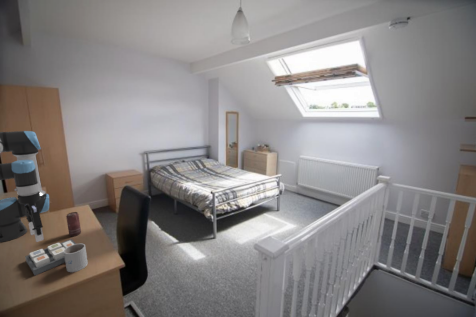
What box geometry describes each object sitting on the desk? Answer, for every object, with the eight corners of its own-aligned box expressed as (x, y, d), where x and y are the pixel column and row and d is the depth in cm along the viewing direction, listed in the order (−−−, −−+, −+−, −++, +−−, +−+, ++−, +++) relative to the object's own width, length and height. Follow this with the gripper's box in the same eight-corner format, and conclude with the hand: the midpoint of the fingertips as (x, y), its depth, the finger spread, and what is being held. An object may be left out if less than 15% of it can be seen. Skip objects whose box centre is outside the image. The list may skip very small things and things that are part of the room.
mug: (89, 265, 110) (87, 248, 108) (69, 274, 104) (65, 256, 102) (83, 255, 118) (80, 238, 116) (63, 263, 112) (60, 245, 110)
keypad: (26, 261, 113) (24, 255, 112) (72, 243, 129) (71, 238, 128) (34, 275, 103) (33, 269, 102) (83, 254, 119) (82, 249, 118)
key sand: (52, 256, 114) (51, 251, 113) (64, 251, 118) (63, 246, 117) (55, 260, 111) (54, 254, 110) (67, 255, 115) (66, 250, 114)
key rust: (34, 263, 108) (33, 258, 108) (47, 258, 112) (46, 253, 112) (36, 267, 105) (35, 262, 105) (49, 262, 109) (49, 257, 109)
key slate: (30, 258, 112) (29, 252, 112) (43, 253, 116) (42, 248, 116) (32, 261, 109) (31, 256, 109) (45, 256, 113) (44, 251, 113)
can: (75, 237, 135) (72, 216, 132) (66, 236, 137) (63, 215, 134) (83, 232, 141) (81, 212, 138) (75, 231, 142) (72, 211, 140)
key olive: (48, 251, 118) (47, 246, 117) (59, 246, 122) (58, 241, 121) (51, 254, 115) (50, 249, 115) (62, 250, 119) (61, 245, 118)
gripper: (12, 190, 105) (21, 233, 109) (23, 201, 92) (32, 249, 97) (33, 186, 111) (40, 227, 115) (46, 196, 98) (54, 241, 103)
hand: (37, 237), depth 106 cm, fingers open, 9 cm apart
